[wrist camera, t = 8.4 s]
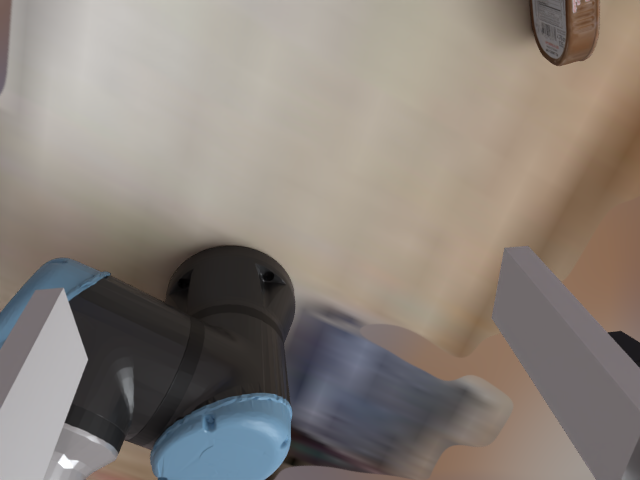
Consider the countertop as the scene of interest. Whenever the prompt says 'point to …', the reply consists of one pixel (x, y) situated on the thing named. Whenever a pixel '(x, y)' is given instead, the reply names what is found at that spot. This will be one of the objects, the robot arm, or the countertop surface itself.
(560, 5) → the tin
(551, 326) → the robot arm
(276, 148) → the countertop surface
